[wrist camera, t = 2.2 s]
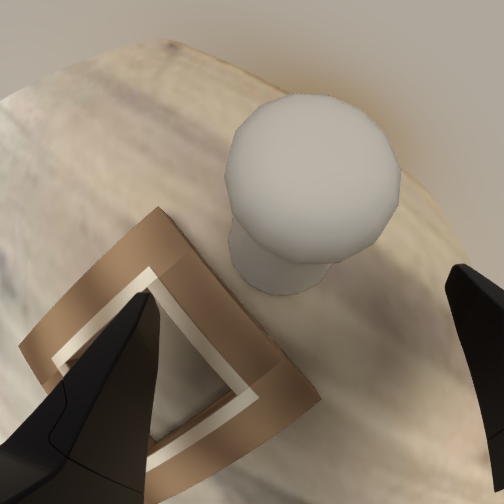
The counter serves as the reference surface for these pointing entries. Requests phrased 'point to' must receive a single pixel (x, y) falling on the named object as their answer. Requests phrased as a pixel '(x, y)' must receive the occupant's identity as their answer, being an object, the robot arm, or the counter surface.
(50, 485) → the robot arm
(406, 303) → the counter surface
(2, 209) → the counter surface
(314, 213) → the salt shaker
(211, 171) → the counter surface
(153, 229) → the socket board
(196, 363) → the counter surface
